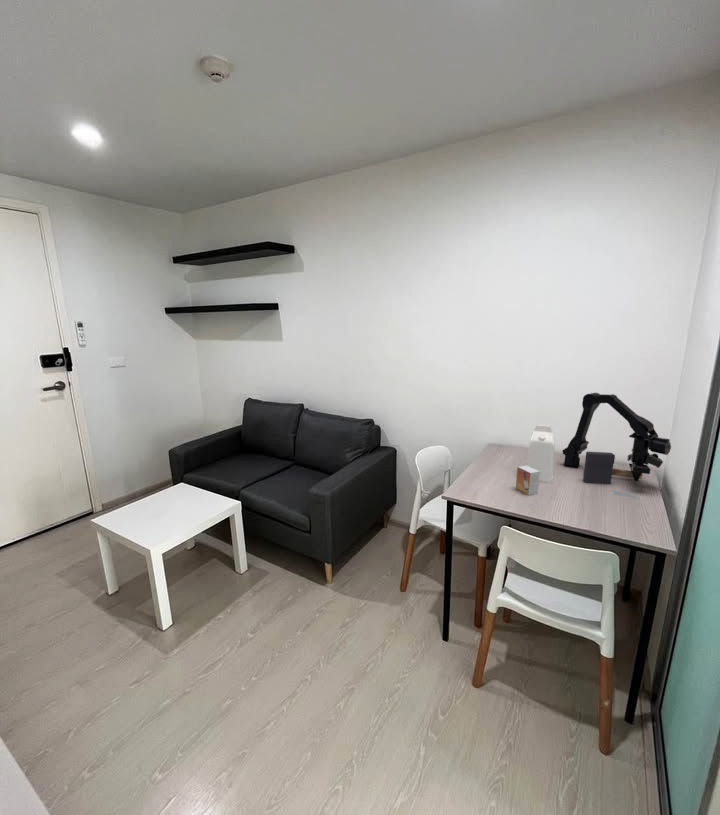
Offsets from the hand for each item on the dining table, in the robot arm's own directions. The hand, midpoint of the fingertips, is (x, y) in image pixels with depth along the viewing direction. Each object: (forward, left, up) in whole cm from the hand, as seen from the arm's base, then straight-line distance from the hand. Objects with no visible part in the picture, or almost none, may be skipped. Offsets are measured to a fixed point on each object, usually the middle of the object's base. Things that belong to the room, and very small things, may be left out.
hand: (635, 481), depth 182 cm
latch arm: (-19, +6, -3) cm, 20 cm away
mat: (-5, -8, -3) cm, 10 cm away
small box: (-44, -26, -3) cm, 51 cm away
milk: (-40, -6, -3) cm, 41 cm away
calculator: (-15, -3, -3) cm, 16 cm away
